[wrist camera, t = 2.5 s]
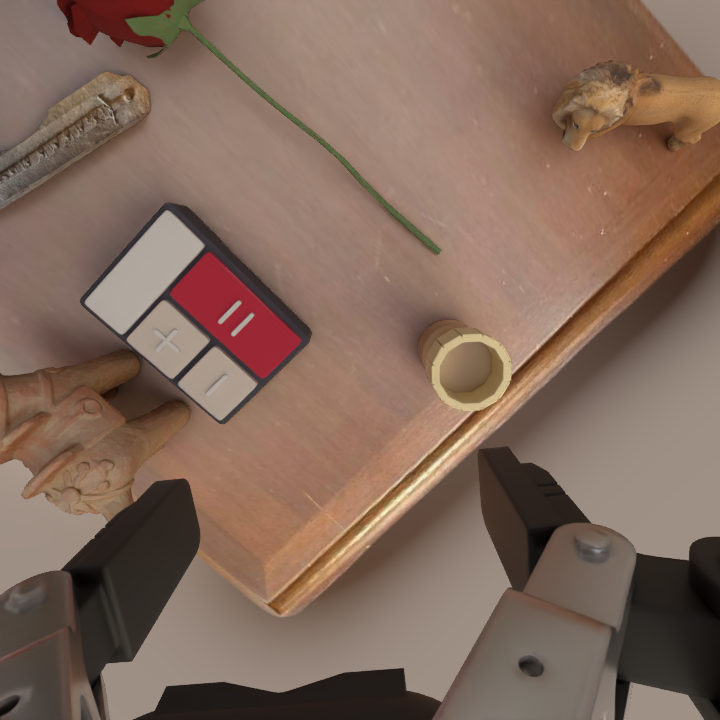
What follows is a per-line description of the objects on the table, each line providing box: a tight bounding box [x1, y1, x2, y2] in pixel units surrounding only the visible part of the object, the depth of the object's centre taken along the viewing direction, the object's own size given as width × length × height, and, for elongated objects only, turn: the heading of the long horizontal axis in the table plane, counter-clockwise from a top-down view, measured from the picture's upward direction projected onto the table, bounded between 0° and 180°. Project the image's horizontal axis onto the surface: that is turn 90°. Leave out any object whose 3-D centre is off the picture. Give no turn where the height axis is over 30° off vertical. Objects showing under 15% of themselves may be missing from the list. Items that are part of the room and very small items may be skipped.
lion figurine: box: [552, 60, 720, 151], centre depth 30 cm, size 15×5×9 cm, turn 97°
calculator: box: [80, 203, 312, 424], centre depth 36 cm, size 11×4×15 cm
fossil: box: [0, 71, 150, 209], centre depth 33 cm, size 18×3×4 cm, turn 119°
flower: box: [57, 0, 441, 255], centre depth 31 cm, size 11×10×30 cm
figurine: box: [0, 349, 190, 522], centre depth 32 cm, size 7×18×15 cm, turn 43°
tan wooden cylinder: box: [418, 319, 492, 393], centre depth 35 cm, size 5×5×6 cm
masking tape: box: [426, 328, 512, 411], centre depth 31 cm, size 6×6×3 cm
